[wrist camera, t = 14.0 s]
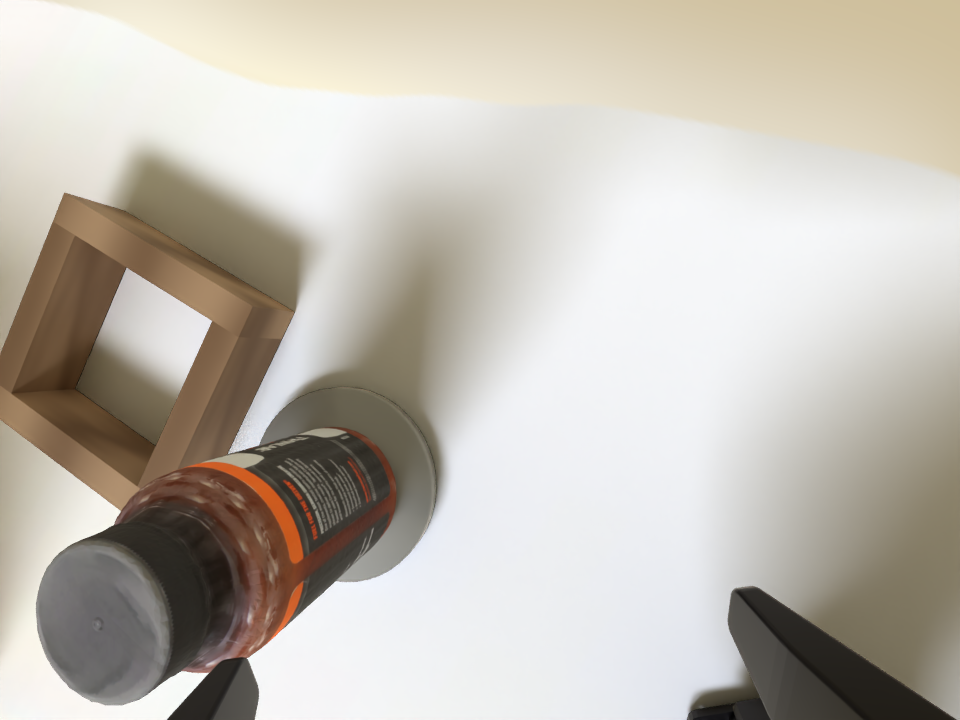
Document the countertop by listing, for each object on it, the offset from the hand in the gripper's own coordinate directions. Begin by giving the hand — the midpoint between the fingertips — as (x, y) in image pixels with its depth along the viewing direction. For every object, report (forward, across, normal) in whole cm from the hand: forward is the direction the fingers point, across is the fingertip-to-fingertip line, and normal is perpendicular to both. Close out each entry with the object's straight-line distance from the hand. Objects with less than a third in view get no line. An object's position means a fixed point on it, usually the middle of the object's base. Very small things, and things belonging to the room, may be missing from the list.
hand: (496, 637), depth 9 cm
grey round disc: (+14, +6, +5) cm, 16 cm away
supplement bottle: (+13, +6, +5) cm, 15 cm away
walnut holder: (+18, +16, 0) cm, 24 cm away
